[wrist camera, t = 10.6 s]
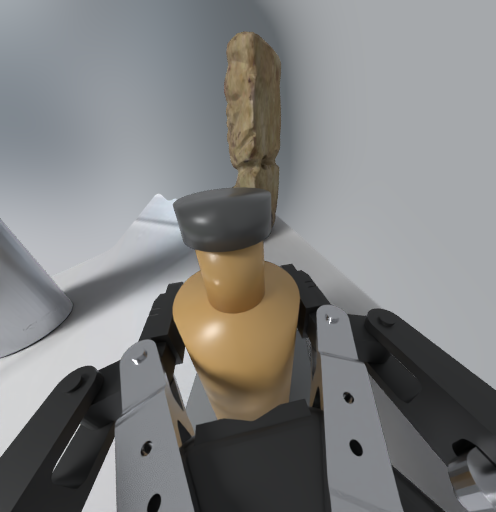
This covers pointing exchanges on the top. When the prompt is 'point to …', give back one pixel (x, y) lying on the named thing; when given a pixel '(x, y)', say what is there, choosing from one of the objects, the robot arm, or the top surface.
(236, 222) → the bottle
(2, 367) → the top surface
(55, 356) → the top surface
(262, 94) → the sculpture
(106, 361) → the top surface
